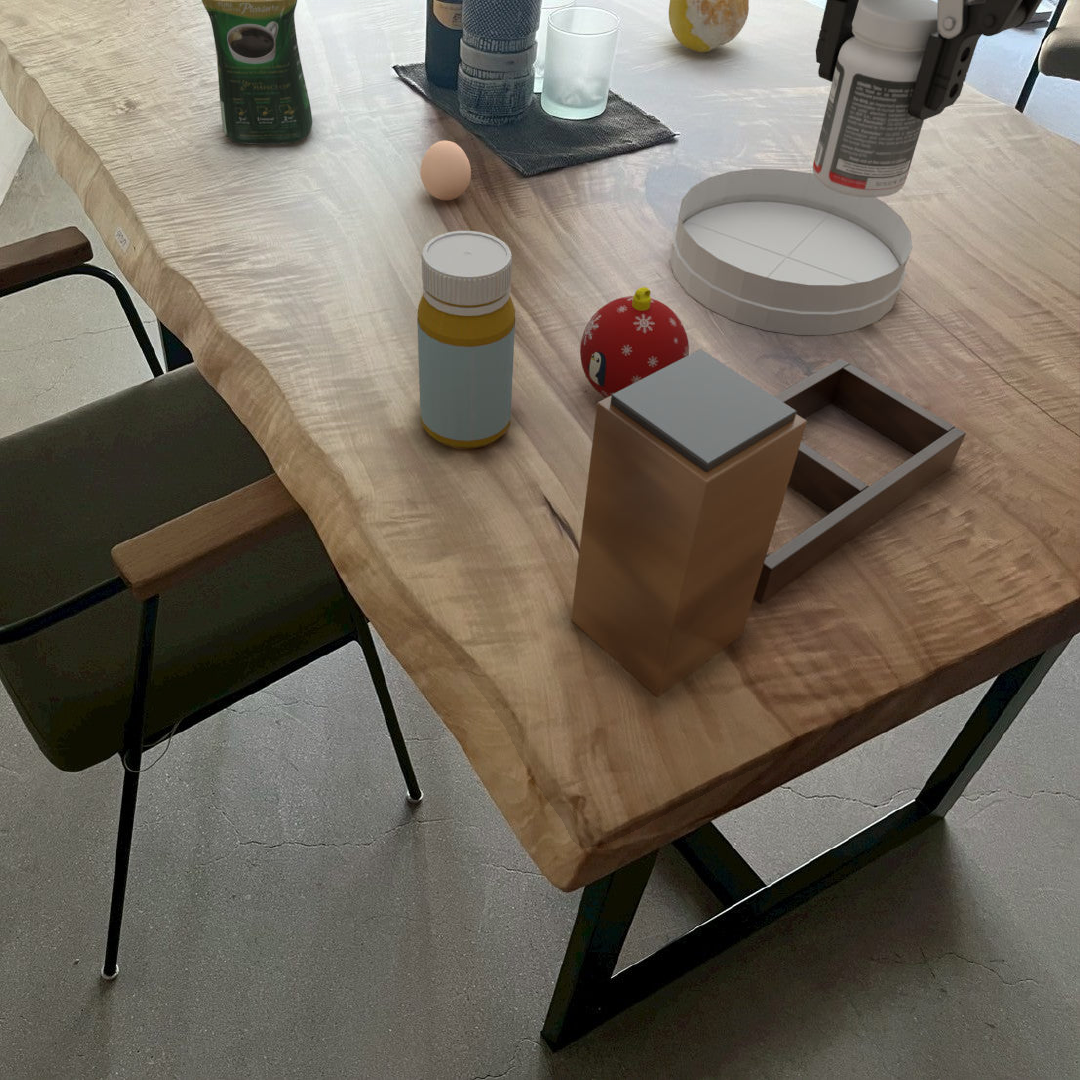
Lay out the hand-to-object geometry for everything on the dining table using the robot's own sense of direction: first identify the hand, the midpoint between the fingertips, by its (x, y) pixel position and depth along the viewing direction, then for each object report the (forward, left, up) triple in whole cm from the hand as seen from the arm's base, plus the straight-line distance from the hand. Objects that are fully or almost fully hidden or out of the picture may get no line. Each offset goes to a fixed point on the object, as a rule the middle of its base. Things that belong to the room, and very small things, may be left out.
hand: (880, 93), depth 51 cm
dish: (+23, -32, -33) cm, 51 cm away
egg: (+53, -14, -33) cm, 64 cm away
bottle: (+23, +7, -33) cm, 41 cm away
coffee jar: (+76, -7, -33) cm, 83 cm away
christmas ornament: (+18, -6, -33) cm, 38 cm away
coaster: (-1, +10, -14) cm, 18 cm away
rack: (+2, -9, -32) cm, 34 cm away
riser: (-1, +10, -32) cm, 34 cm away
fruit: (+66, -67, -33) cm, 100 cm away
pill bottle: (0, 0, -5) cm, 5 cm away
